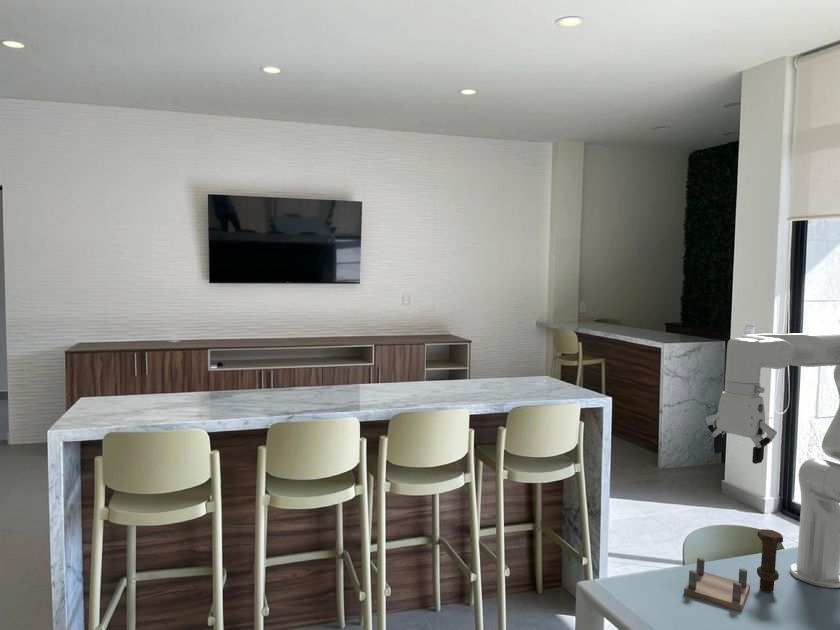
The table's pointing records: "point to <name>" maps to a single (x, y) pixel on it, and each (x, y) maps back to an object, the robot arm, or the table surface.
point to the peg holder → (717, 587)
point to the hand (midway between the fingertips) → (737, 457)
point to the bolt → (768, 559)
